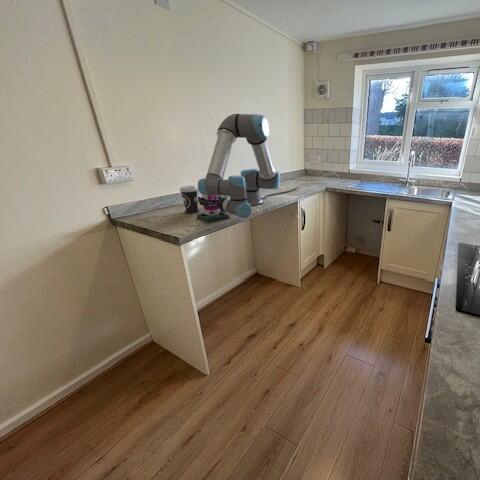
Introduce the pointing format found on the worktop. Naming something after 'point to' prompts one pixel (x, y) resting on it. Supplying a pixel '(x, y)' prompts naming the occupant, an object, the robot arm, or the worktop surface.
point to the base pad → (212, 217)
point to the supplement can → (214, 209)
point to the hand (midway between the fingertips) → (206, 198)
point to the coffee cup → (190, 198)
